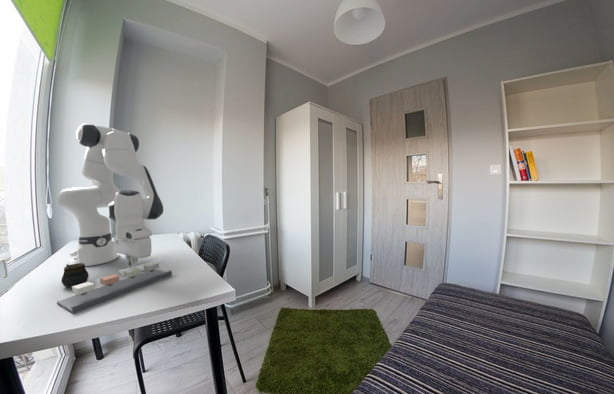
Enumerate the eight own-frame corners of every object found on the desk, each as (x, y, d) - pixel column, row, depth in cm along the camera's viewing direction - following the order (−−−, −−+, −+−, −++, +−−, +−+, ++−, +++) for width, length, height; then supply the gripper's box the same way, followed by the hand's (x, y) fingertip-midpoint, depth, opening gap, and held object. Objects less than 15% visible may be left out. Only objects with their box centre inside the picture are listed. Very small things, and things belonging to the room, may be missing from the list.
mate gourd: (92, 279, 88) (90, 256, 88) (84, 287, 82) (82, 262, 81) (68, 283, 85) (66, 259, 84) (57, 291, 78) (55, 265, 77)
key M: (143, 272, 89) (143, 264, 89) (154, 268, 92) (153, 261, 92) (149, 273, 87) (148, 266, 87) (159, 270, 91) (159, 263, 91)
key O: (72, 295, 70) (72, 286, 70) (89, 290, 73) (88, 281, 73) (78, 298, 68) (77, 289, 68) (94, 292, 72) (93, 283, 72)
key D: (123, 278, 82) (123, 270, 82) (135, 274, 86) (135, 267, 86) (129, 280, 81) (128, 272, 81) (141, 276, 84) (140, 268, 84)
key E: (100, 286, 76) (99, 278, 76) (114, 282, 80) (113, 273, 80) (105, 288, 74) (105, 280, 74) (119, 284, 78) (119, 275, 78)
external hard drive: (157, 268, 101) (123, 277, 91) (151, 264, 106) (118, 273, 96) (156, 265, 101) (123, 274, 91) (151, 261, 105) (118, 269, 96)
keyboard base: (56, 303, 70) (56, 297, 69) (154, 270, 97) (154, 266, 97) (73, 313, 64) (72, 307, 64) (171, 275, 91) (171, 270, 91)
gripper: (107, 231, 84) (109, 264, 85) (135, 235, 75) (137, 272, 76) (126, 228, 90) (128, 259, 90) (154, 232, 81) (156, 266, 82)
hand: (132, 265), depth 83 cm, fingers closed
